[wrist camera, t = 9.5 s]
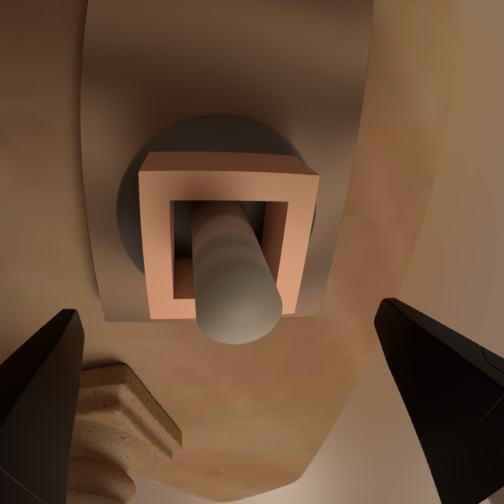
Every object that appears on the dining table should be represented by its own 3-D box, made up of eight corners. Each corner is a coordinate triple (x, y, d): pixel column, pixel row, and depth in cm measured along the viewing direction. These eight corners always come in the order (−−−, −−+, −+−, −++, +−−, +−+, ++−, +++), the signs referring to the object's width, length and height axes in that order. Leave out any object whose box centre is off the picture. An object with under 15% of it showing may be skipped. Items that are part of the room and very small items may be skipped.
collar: (149, 151, 12) (138, 171, 10) (294, 155, 13) (319, 175, 11) (155, 277, 15) (150, 319, 12) (277, 275, 16) (294, 313, 14)
